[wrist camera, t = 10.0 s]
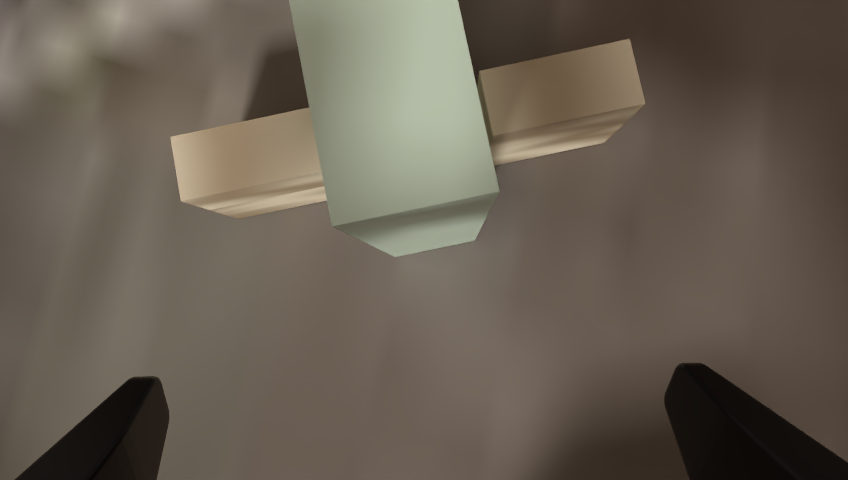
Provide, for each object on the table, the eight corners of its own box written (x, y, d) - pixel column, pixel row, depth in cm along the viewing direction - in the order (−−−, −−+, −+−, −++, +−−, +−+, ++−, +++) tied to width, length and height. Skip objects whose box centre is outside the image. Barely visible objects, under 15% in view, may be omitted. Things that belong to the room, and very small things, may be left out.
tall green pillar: (474, 240, 21) (499, 191, 10) (395, 256, 21) (331, 226, 10) (436, 61, 21) (419, -175, 10) (359, 78, 21) (262, -139, 10)
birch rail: (591, 91, 21) (629, 38, 16) (603, 142, 21) (645, 103, 16) (229, 167, 21) (170, 137, 17) (238, 218, 21) (180, 201, 17)
